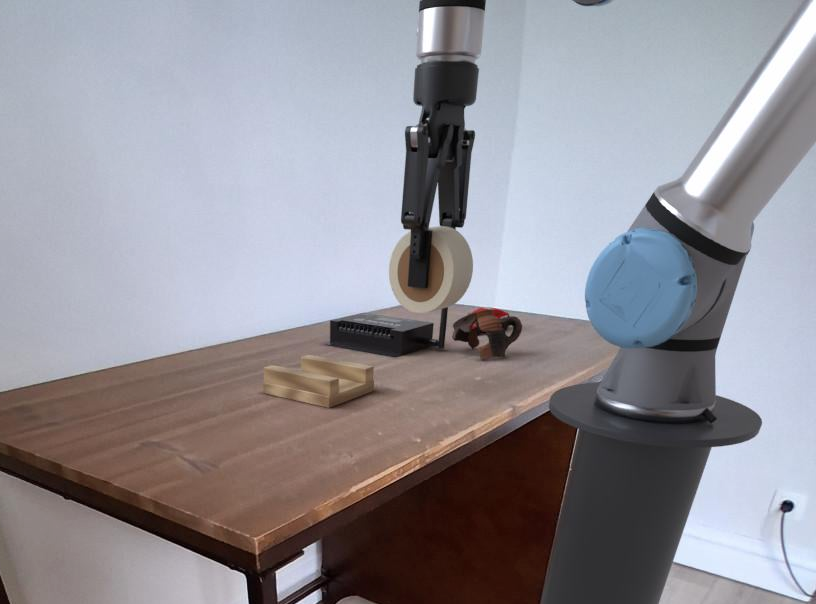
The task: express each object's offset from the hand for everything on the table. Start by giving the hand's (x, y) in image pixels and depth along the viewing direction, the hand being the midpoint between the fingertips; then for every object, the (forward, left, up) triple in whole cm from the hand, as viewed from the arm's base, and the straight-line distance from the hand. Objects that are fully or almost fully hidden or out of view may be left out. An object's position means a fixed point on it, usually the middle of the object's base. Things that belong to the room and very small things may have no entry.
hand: (429, 284), depth 92 cm
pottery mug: (+3, -27, -14) cm, 31 cm away
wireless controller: (+20, -22, -14) cm, 33 cm away
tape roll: (0, 0, -3) cm, 3 cm away
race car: (+13, -46, -14) cm, 50 cm away
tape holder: (+11, +11, -14) cm, 21 cm away
